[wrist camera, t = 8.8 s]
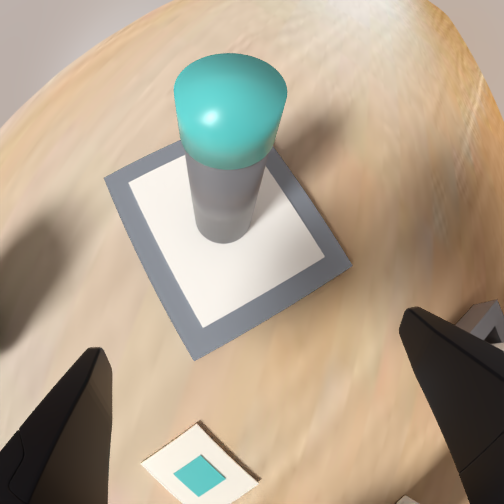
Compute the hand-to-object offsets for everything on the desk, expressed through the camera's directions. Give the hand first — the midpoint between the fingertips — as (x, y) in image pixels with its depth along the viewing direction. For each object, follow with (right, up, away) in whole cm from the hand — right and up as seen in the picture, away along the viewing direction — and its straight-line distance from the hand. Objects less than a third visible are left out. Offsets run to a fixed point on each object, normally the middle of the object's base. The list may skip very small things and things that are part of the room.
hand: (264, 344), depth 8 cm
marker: (-2, +5, +12) cm, 13 cm away
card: (-4, -12, +8) cm, 15 cm away
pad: (-2, +4, +13) cm, 14 cm away
